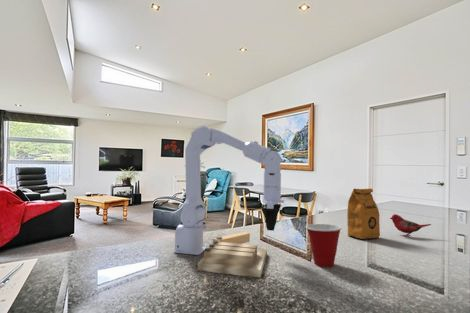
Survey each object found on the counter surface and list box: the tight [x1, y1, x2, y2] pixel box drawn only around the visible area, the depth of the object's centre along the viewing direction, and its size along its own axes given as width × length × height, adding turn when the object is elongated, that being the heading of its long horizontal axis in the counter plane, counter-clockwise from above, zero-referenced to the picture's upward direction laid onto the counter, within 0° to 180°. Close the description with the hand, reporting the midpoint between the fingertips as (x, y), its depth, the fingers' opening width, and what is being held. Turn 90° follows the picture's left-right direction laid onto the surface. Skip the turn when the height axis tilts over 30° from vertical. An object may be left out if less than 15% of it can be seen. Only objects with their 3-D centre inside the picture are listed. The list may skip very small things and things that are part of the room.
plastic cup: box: [305, 223, 342, 268], centre depth 78 cm, size 11×11×12 cm
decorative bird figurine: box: [389, 213, 432, 237], centre depth 114 cm, size 3×18×10 cm, turn 82°
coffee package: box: [346, 188, 381, 240], centre depth 112 cm, size 10×12×22 cm
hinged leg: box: [212, 231, 251, 244], centre depth 89 cm, size 15×3×3 cm, turn 132°
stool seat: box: [197, 240, 268, 278], centre depth 78 cm, size 18×19×5 cm
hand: (271, 227), depth 83 cm, fingers open, 7 cm apart
